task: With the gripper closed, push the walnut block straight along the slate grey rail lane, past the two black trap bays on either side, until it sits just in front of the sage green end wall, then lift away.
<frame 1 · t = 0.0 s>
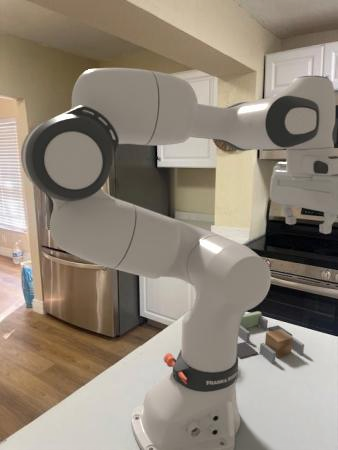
hand: (307, 228, 72), 39 cm above the counter, tool pointing down, fingers open, 8 cm apart
walnut block: (277, 351, 95), on the counter
rail lane: (265, 341, 99), on the counter
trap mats: (265, 341, 99), on the counter
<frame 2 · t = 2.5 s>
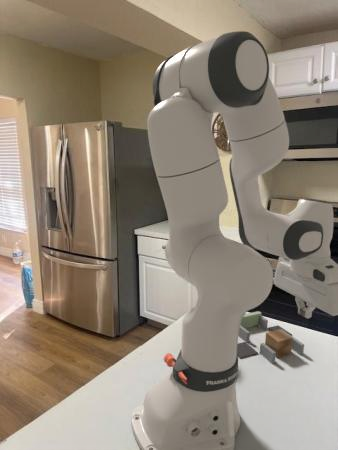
hand: (304, 315, 85), 14 cm above the counter, tool pointing down, fingers closed
nothing on the counter moved.
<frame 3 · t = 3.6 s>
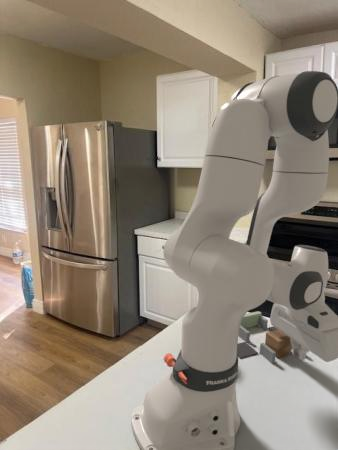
hand: (298, 356, 87), 3 cm above the counter, tool pointing down, fingers closed
nothing on the counter moved.
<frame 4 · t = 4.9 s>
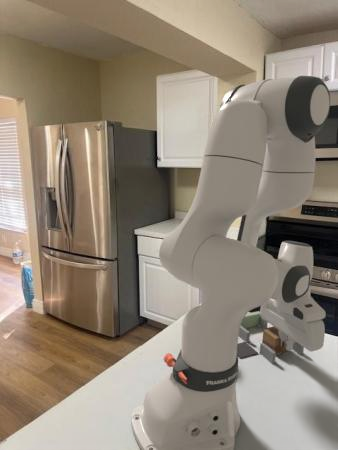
hand: (286, 347, 92), 3 cm above the counter, tool pointing down, fingers closed
walnut block: (274, 348, 96), on the counter, touching gripper
everything else where it was.
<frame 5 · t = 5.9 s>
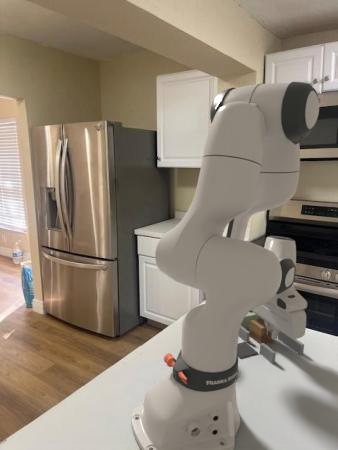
hand: (271, 337, 97), 3 cm above the counter, tool pointing down, fingers closed
walnut block: (261, 338, 101), on the counter, touching gripper
everything else where it was.
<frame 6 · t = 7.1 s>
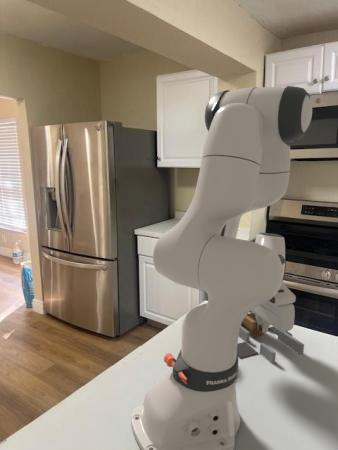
hand: (262, 330, 100), 3 cm above the counter, tool pointing down, fingers closed
walnut block: (252, 331, 105), on the counter, touching gripper
everything else where it was.
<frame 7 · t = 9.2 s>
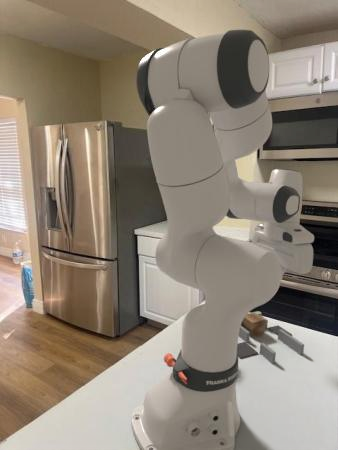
hand: (276, 278, 93), 20 cm above the counter, tool pointing down, fingers closed
walnut block: (252, 332, 105), on the counter
everything else where it was.
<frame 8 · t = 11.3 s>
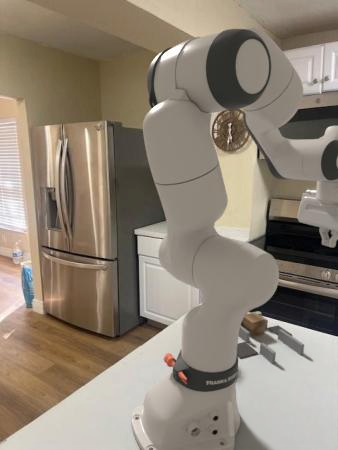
hand: (328, 246, 87), 31 cm above the counter, tool pointing down, fingers closed
nothing on the counter moved.
at the end: walnut block 0.7 cm from the target spot, on the counter; walnut block tilted 0° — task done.
